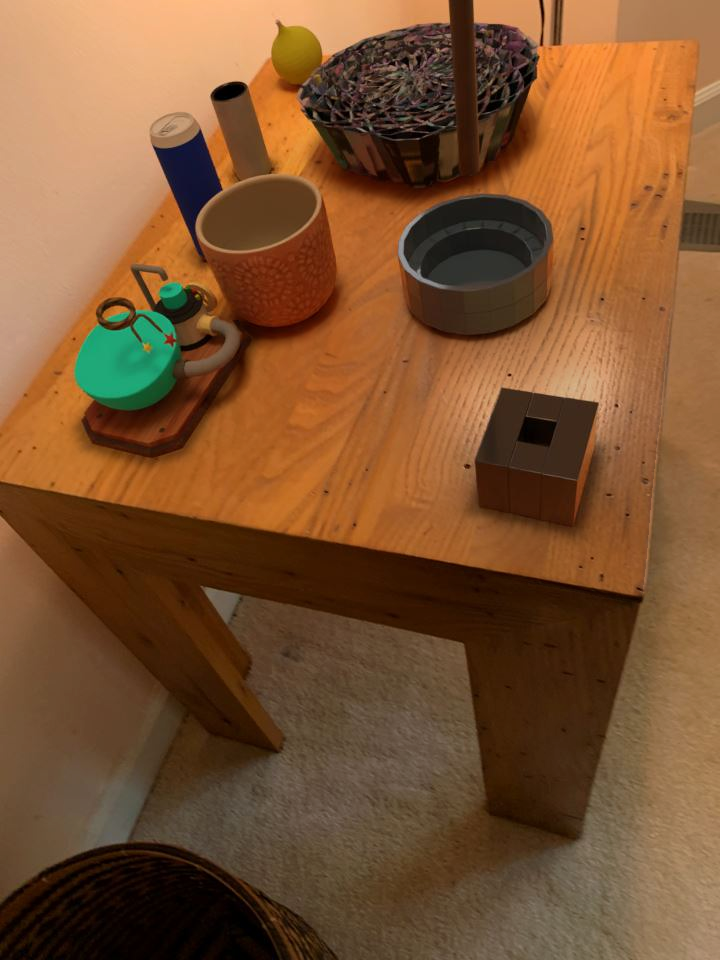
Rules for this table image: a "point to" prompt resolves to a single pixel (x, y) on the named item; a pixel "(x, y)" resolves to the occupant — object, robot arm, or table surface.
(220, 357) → the contraption on wooden base
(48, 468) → the table surface
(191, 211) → the beverage can
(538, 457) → the holder
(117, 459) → the table surface
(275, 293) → the planter
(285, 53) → the yellow oval fruit
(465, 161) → the stirring stick
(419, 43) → the decorative bowl
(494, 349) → the table surface
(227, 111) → the cardboard tube
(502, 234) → the bowl
